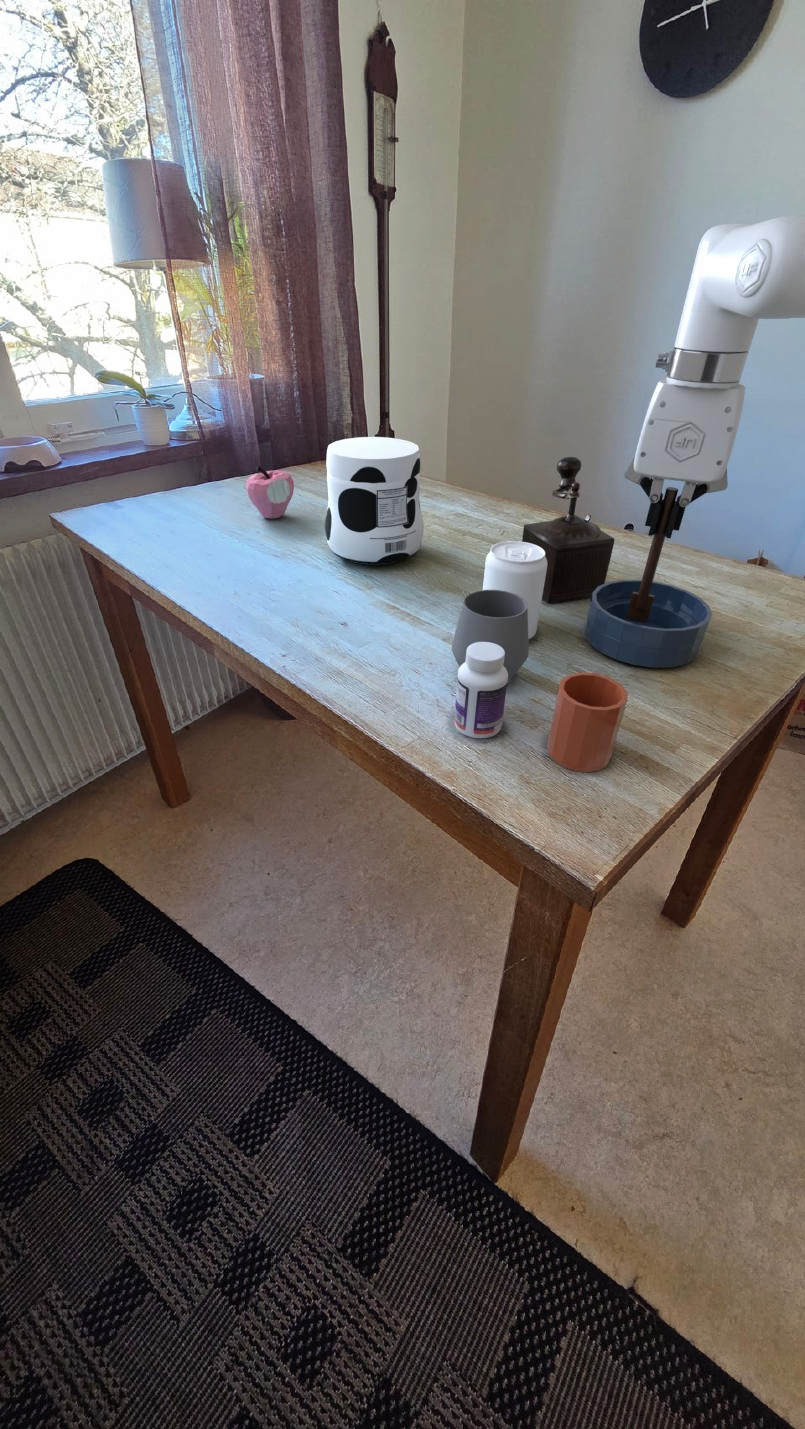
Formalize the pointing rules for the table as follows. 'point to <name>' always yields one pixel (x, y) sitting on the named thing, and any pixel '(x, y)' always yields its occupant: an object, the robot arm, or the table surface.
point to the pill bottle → (481, 691)
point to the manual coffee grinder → (571, 545)
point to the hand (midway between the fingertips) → (660, 532)
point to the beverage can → (518, 575)
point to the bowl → (647, 624)
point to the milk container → (373, 500)
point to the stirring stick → (652, 562)
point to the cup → (494, 626)
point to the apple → (270, 492)
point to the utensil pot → (586, 721)
